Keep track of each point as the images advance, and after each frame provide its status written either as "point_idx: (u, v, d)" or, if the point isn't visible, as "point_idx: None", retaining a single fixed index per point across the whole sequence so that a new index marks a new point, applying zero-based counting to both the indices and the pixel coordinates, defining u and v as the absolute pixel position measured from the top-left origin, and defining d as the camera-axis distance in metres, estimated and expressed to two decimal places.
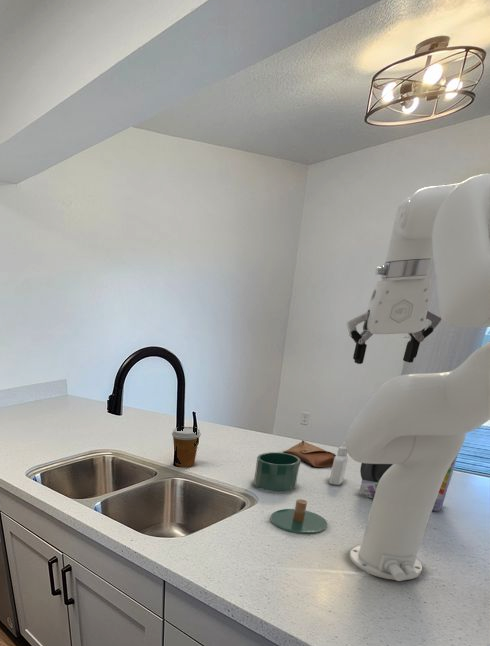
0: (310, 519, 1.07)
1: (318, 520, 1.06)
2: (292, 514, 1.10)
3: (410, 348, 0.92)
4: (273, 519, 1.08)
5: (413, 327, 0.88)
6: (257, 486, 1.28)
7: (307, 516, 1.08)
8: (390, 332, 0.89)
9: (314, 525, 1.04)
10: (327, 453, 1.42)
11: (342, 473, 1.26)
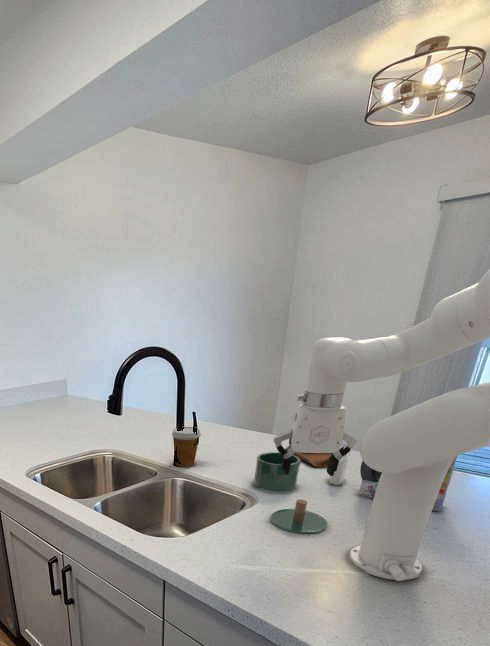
0: (310, 519, 1.07)
1: (318, 520, 1.06)
2: (292, 514, 1.10)
3: (330, 463, 1.00)
4: (273, 519, 1.08)
5: (331, 449, 0.96)
6: (257, 486, 1.28)
7: (307, 516, 1.08)
8: (310, 451, 0.97)
9: (314, 525, 1.04)
10: (327, 453, 1.42)
11: (342, 473, 1.26)
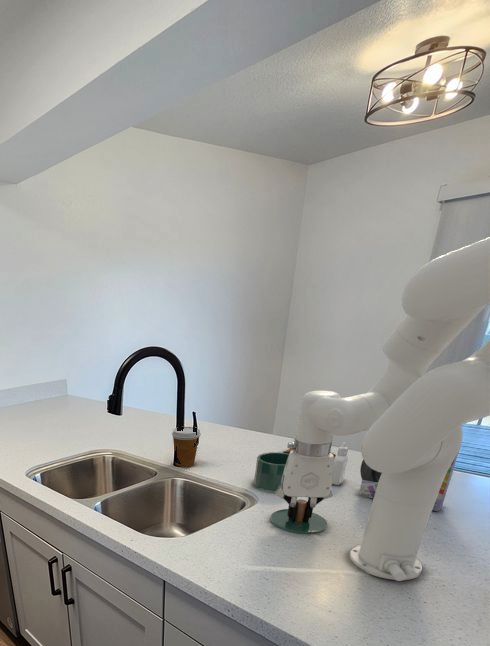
0: (310, 519, 1.07)
1: (318, 520, 1.06)
2: None
3: None
4: (273, 519, 1.08)
5: (321, 493, 1.00)
6: (257, 486, 1.28)
7: None
8: (301, 496, 1.01)
9: (314, 525, 1.04)
10: None
11: (342, 473, 1.26)
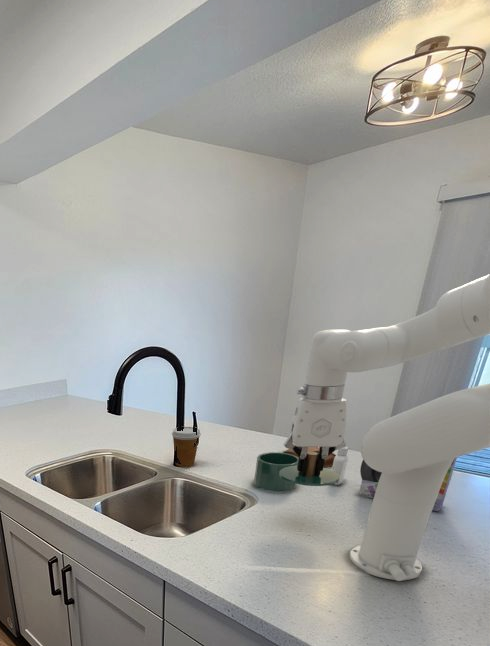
0: (322, 473, 1.01)
1: (330, 474, 1.00)
2: None
3: None
4: (282, 474, 1.02)
5: (333, 442, 0.94)
6: (257, 486, 1.28)
7: None
8: (312, 445, 0.96)
9: (326, 478, 0.98)
10: None
11: (342, 473, 1.26)
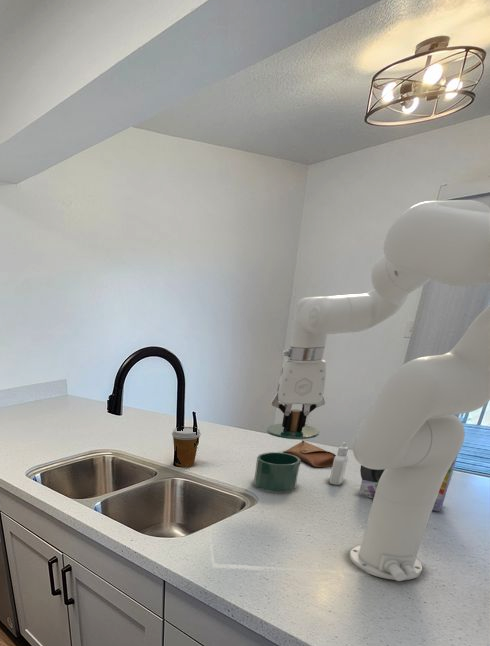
0: (304, 429, 1.12)
1: (311, 429, 1.12)
2: None
3: None
4: (269, 430, 1.14)
5: (314, 399, 1.06)
6: (257, 486, 1.28)
7: None
8: (296, 403, 1.07)
9: (307, 432, 1.10)
10: (327, 453, 1.42)
11: (342, 473, 1.26)
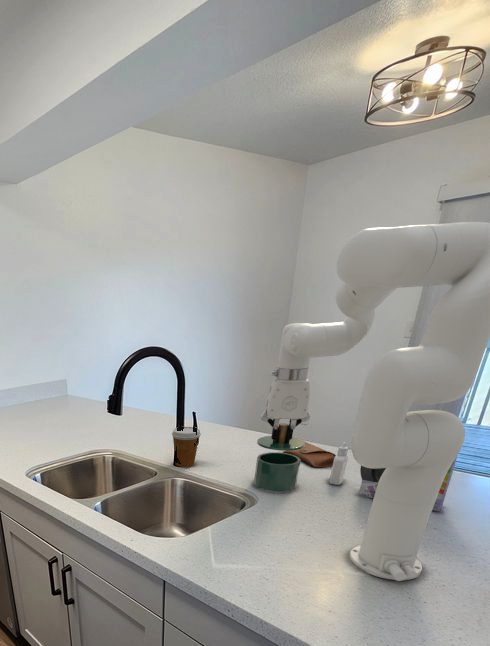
0: (291, 441, 1.23)
1: (298, 441, 1.23)
2: None
3: (287, 432, 1.22)
4: (259, 442, 1.24)
5: (299, 415, 1.17)
6: (257, 486, 1.28)
7: None
8: (283, 418, 1.18)
9: (294, 444, 1.20)
10: (327, 453, 1.42)
11: (342, 473, 1.26)
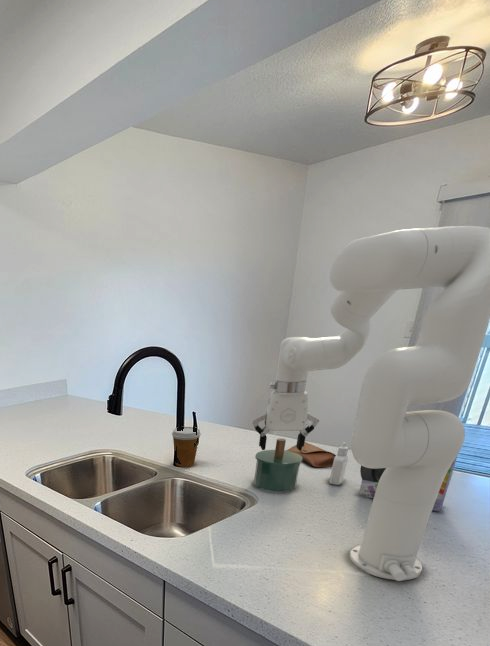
0: (289, 456, 1.25)
1: (295, 456, 1.24)
2: (274, 453, 1.28)
3: (299, 439, 1.22)
4: (257, 456, 1.26)
5: (298, 427, 1.18)
6: (257, 486, 1.28)
7: (286, 454, 1.27)
8: (282, 429, 1.19)
9: (291, 459, 1.22)
10: (327, 453, 1.42)
11: (342, 473, 1.26)
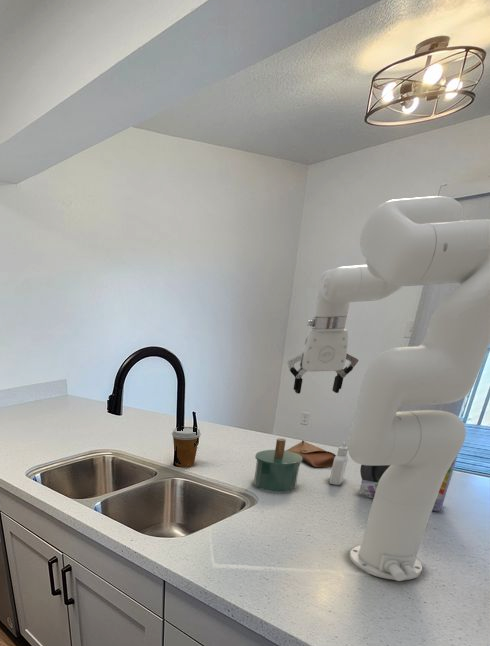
0: (289, 456, 1.25)
1: (295, 456, 1.24)
2: (274, 453, 1.28)
3: (336, 381, 1.17)
4: (257, 456, 1.26)
5: (336, 366, 1.13)
6: (257, 486, 1.28)
7: (286, 454, 1.27)
8: (319, 370, 1.14)
9: (291, 459, 1.22)
10: (327, 453, 1.42)
11: (342, 473, 1.26)
